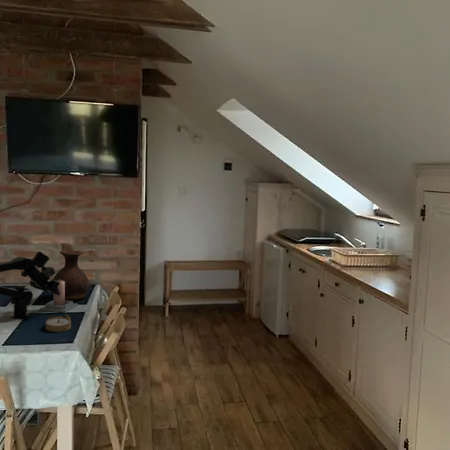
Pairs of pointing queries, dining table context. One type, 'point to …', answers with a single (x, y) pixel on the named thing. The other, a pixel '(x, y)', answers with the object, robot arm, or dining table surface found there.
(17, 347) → the dining table surface
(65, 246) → the jug
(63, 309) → the dish
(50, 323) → the alarm clock
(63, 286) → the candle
